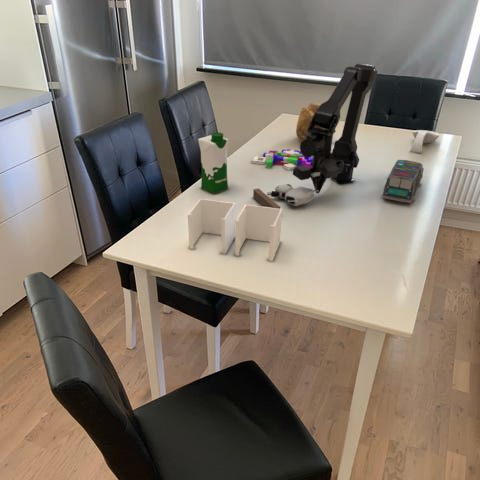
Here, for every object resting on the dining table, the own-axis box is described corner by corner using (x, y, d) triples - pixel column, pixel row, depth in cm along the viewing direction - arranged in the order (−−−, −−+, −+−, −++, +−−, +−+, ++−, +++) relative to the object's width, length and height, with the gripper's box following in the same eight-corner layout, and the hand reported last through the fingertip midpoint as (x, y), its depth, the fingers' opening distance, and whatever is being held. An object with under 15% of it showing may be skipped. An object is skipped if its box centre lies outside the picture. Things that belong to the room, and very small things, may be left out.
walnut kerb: (258, 197, 170) (258, 188, 168) (279, 216, 159) (280, 206, 157) (252, 198, 169) (253, 189, 167) (274, 217, 158) (274, 207, 156)
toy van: (421, 182, 182) (428, 156, 176) (410, 207, 165) (417, 179, 158) (393, 177, 186) (398, 151, 179) (379, 201, 168) (385, 174, 162)
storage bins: (279, 242, 145) (282, 209, 138) (272, 260, 136) (274, 226, 130) (201, 231, 150) (200, 198, 143) (189, 248, 141) (187, 214, 135)
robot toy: (264, 201, 169) (297, 212, 160) (264, 189, 166) (298, 199, 158) (286, 191, 176) (319, 201, 167) (286, 179, 173) (320, 188, 165)
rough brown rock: (325, 153, 208) (333, 117, 198) (289, 145, 211) (295, 109, 202) (336, 139, 225) (344, 105, 216) (302, 131, 229) (308, 98, 219)
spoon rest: (413, 135, 226) (417, 120, 221) (439, 139, 221) (443, 123, 217) (402, 151, 209) (406, 134, 205) (429, 155, 205) (434, 138, 200)
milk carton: (213, 195, 170) (212, 138, 158) (197, 188, 175) (194, 132, 163) (231, 189, 175) (231, 133, 163) (215, 181, 180) (213, 127, 168)
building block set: (319, 155, 204) (320, 144, 201) (311, 173, 188) (312, 161, 185) (262, 149, 209) (262, 138, 206) (249, 165, 194) (250, 154, 191)
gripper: (310, 161, 151) (306, 206, 161) (359, 152, 157) (352, 197, 167) (293, 149, 159) (290, 193, 169) (340, 142, 165) (334, 185, 175)
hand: (317, 192), depth 170 cm, fingers closed
